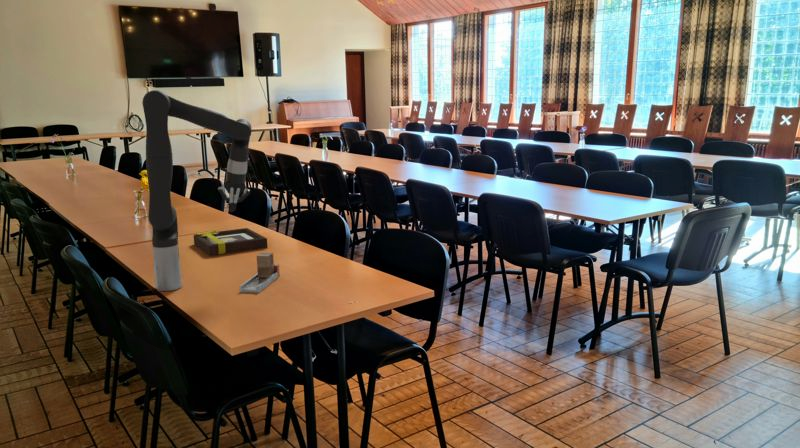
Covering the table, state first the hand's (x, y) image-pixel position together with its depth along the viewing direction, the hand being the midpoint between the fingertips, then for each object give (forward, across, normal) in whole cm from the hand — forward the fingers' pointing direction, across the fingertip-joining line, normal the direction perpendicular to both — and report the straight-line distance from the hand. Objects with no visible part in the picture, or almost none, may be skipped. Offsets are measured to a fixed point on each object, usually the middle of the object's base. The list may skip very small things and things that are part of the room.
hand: (231, 210), depth 243 cm
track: (+23, -12, +19) cm, 32 cm away
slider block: (+22, -15, +14) cm, 30 cm away
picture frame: (+38, -9, -48) cm, 62 cm away
